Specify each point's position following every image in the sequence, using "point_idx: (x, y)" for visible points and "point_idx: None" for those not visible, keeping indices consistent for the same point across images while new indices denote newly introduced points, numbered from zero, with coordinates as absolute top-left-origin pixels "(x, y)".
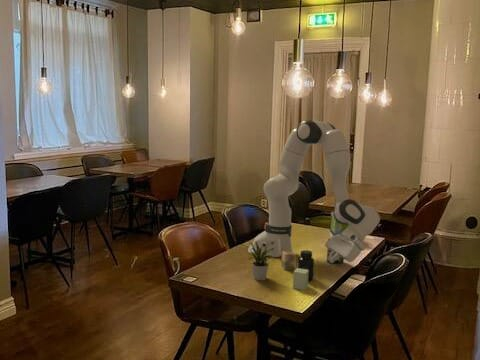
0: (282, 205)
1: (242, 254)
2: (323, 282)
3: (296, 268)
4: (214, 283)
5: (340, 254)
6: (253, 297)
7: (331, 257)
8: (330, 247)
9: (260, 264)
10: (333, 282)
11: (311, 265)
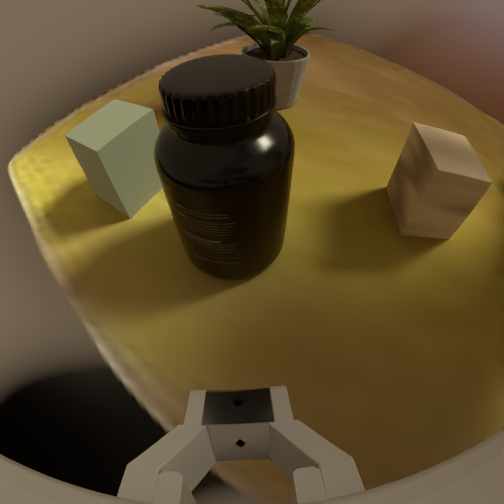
0: None
1: (492, 135)
2: (151, 323)
3: (146, 107)
4: (244, 46)
5: (13, 461)
6: (128, 85)
7: (214, 422)
8: (455, 466)
9: (263, 48)
10: (136, 389)
11: (160, 180)
